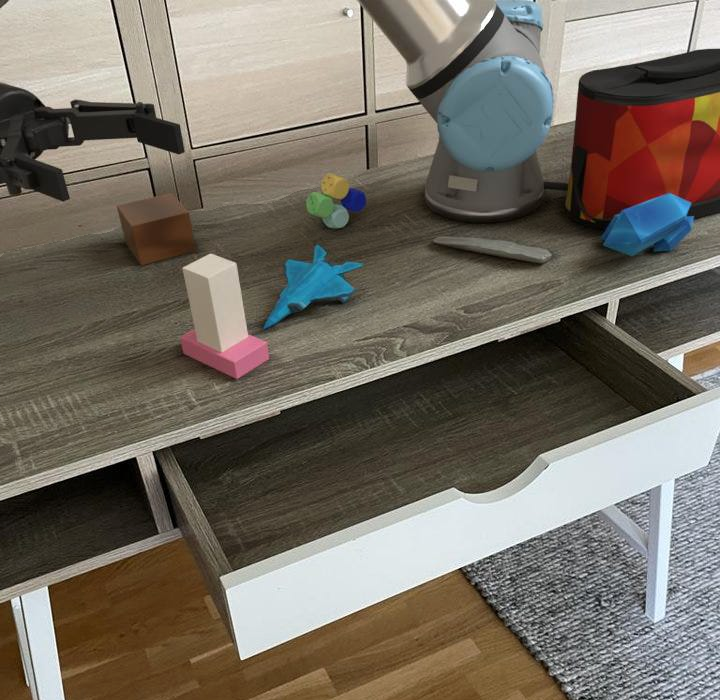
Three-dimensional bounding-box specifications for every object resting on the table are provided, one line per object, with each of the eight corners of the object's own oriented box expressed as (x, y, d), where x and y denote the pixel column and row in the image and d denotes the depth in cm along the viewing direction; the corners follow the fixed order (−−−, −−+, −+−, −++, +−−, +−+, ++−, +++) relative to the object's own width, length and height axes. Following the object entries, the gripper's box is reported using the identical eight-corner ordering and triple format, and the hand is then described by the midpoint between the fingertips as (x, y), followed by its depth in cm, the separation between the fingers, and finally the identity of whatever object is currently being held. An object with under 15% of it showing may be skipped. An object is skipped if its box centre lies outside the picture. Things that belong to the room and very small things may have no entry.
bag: (719, 159, 118) (748, 27, 108) (796, 193, 109) (836, 52, 98) (532, 204, 110) (543, 66, 100) (597, 246, 100) (617, 98, 90)
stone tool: (558, 245, 99) (544, 256, 96) (557, 257, 100) (542, 268, 96) (446, 228, 105) (428, 238, 102) (445, 240, 106) (428, 250, 102)
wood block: (179, 230, 111) (171, 192, 107) (196, 251, 106) (188, 212, 102) (126, 243, 108) (116, 205, 105) (141, 265, 104) (131, 226, 100)
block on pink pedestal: (269, 359, 86) (256, 267, 80) (237, 379, 84) (220, 286, 77) (215, 334, 90) (199, 245, 84) (183, 353, 88) (163, 263, 81)
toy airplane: (291, 277, 99) (286, 243, 96) (374, 280, 97) (371, 245, 95) (262, 330, 91) (256, 295, 88) (353, 334, 89) (350, 298, 86)
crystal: (719, 244, 96) (624, 289, 95) (673, 229, 103) (585, 271, 103) (709, 179, 92) (610, 226, 91) (662, 169, 99) (571, 212, 99)
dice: (356, 211, 112) (353, 162, 108) (369, 217, 110) (366, 167, 106) (306, 230, 109) (301, 179, 104) (318, 236, 107) (313, 186, 103)
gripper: (104, 123, 101) (227, 159, 90) (-97, 194, 87) (20, 248, 76) (87, 53, 96) (216, 83, 85) (-129, 118, 82) (-8, 163, 71)
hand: (124, 161), depth 81 cm, fingers open, 13 cm apart
